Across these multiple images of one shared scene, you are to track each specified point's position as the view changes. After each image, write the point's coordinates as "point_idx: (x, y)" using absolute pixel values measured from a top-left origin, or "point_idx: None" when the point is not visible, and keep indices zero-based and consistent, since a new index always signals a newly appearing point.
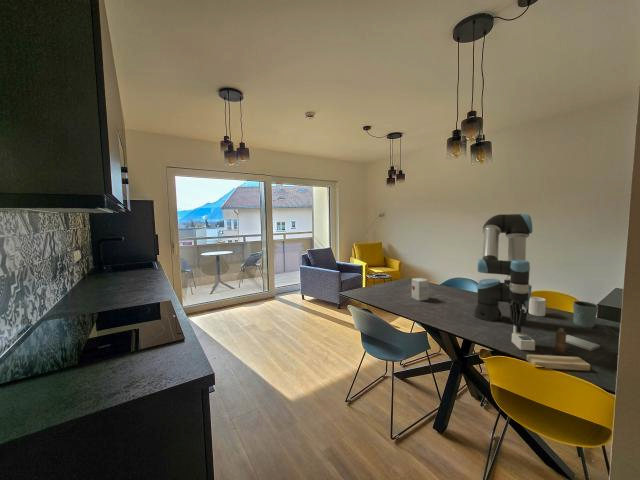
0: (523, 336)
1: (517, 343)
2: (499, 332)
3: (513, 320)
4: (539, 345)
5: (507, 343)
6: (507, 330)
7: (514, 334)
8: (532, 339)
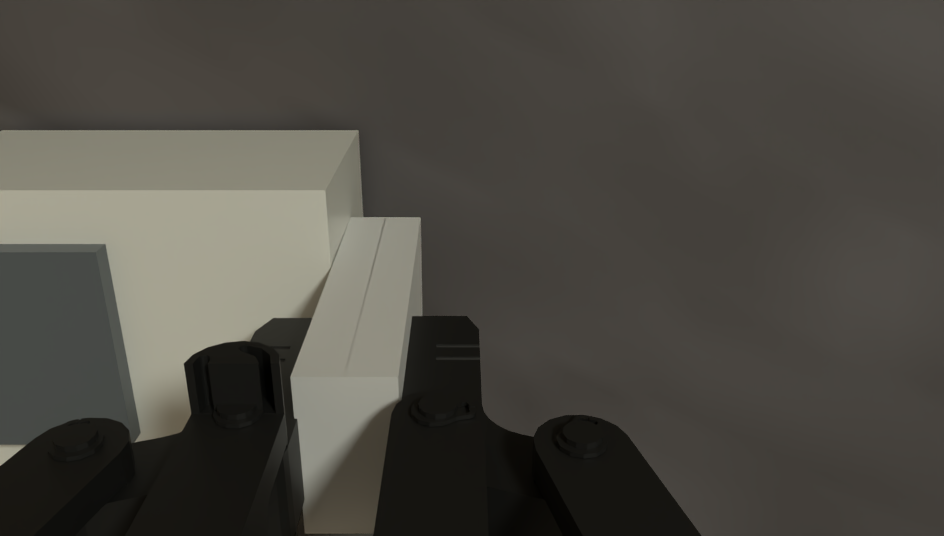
0: (96, 351)
1: (92, 150)
2: (853, 105)
3: (440, 465)
4: None
5: (286, 13)
6: (934, 318)
7: (239, 213)
8: None
